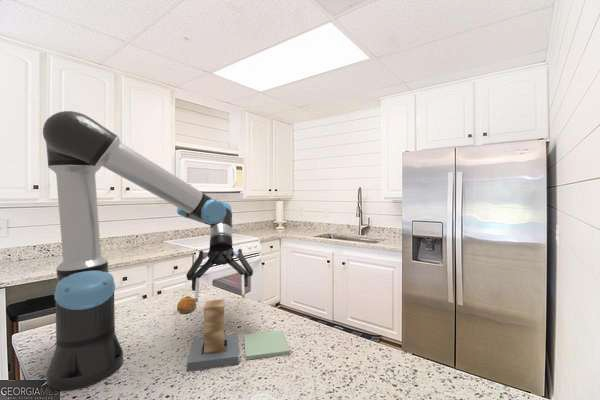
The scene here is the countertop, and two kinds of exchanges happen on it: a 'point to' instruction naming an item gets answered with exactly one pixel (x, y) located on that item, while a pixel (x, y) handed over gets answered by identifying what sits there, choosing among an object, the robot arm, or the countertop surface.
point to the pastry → (186, 304)
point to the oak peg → (214, 326)
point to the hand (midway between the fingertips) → (220, 298)
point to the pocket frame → (213, 354)
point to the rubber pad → (265, 345)
